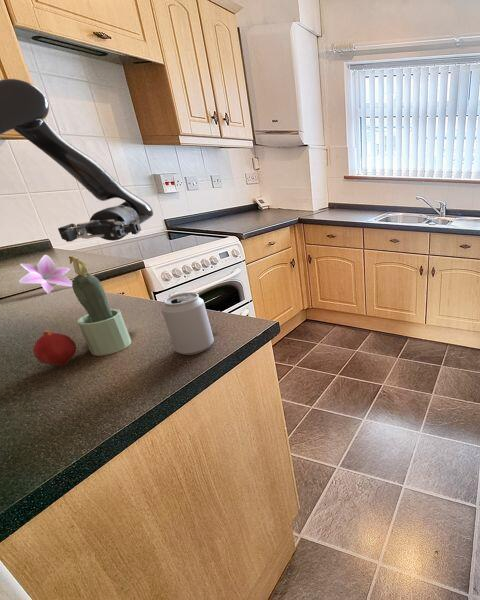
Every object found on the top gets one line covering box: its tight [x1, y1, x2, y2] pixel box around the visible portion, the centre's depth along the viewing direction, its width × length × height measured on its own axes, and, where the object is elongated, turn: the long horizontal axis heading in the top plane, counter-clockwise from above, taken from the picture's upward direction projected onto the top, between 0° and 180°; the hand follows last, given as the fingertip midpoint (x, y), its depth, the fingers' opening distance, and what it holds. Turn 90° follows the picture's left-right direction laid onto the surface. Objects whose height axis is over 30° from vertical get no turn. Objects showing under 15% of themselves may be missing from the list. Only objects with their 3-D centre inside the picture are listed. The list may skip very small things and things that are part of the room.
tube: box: [76, 308, 132, 357], centre depth 72 cm, size 7×7×8 cm
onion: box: [32, 329, 77, 367], centre depth 66 cm, size 6×6×8 cm
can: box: [161, 291, 215, 356], centre depth 71 cm, size 8×8×12 cm
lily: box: [18, 254, 73, 294], centre depth 104 cm, size 12×12×10 cm
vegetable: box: [68, 255, 113, 323], centre depth 70 cm, size 4×4×20 cm
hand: (91, 235), depth 74 cm, fingers open, 8 cm apart
